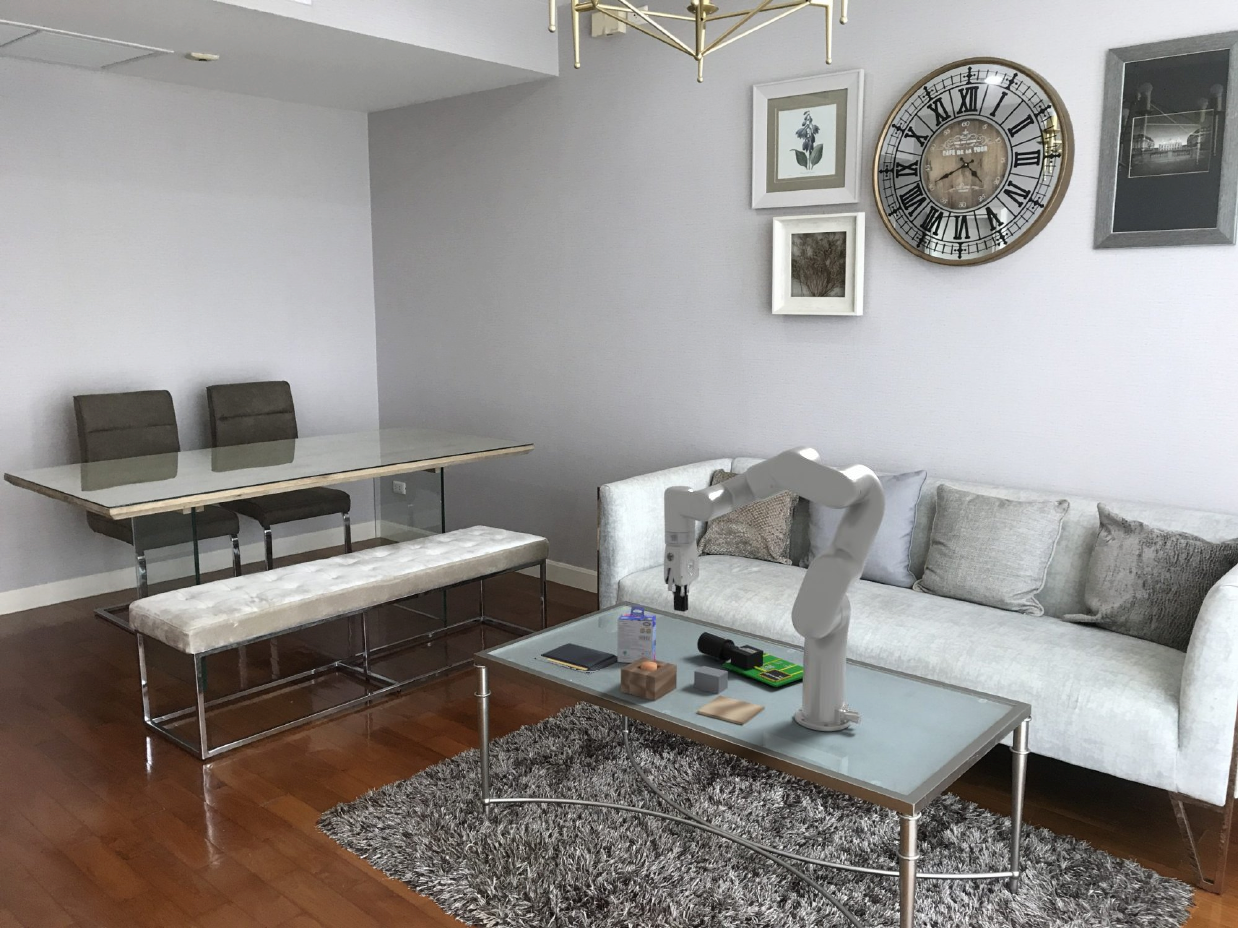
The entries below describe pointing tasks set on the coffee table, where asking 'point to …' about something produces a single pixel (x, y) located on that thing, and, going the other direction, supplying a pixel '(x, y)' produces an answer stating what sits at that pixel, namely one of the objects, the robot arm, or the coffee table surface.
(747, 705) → the oak board
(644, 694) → the walnut housing
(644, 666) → the orange ball
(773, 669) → the circuit board with cylinder
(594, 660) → the wallet
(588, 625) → the coffee table surface
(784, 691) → the coffee table surface
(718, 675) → the gray rectangular block
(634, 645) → the ink cartridge box
